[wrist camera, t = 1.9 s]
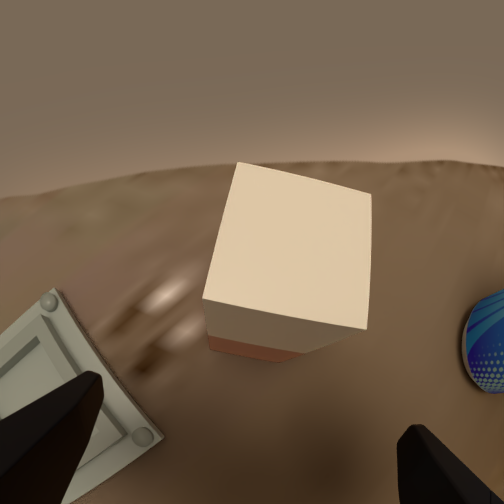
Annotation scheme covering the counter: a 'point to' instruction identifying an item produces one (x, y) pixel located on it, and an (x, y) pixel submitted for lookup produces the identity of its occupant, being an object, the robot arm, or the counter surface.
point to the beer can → (486, 343)
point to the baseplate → (61, 371)
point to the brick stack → (288, 266)
